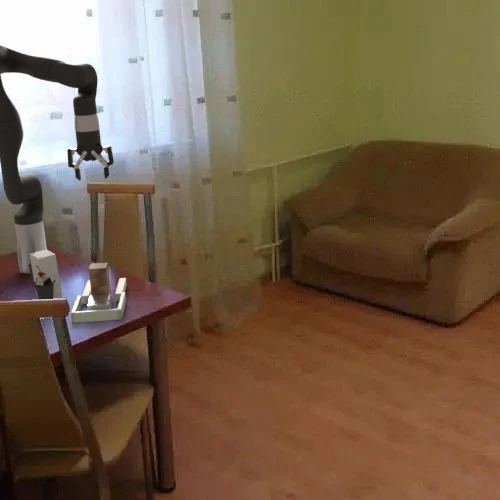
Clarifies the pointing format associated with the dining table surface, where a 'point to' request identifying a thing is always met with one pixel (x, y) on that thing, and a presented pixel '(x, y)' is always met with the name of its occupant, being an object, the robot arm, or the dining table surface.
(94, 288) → the block
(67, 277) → the dining table surface
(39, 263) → the skincare box
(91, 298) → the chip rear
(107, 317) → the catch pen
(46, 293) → the sundae
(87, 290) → the slot rails
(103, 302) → the grey rectangular block
